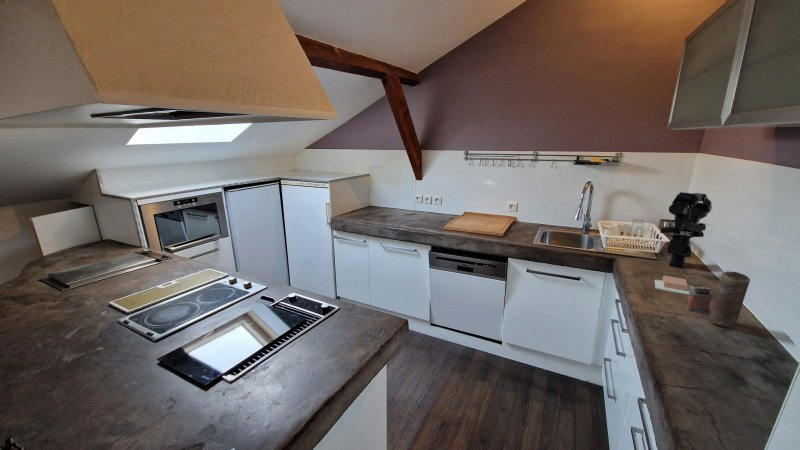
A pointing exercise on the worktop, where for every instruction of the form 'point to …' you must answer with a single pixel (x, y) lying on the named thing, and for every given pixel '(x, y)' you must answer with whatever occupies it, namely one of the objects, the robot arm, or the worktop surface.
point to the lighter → (699, 299)
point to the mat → (660, 286)
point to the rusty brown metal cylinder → (729, 299)
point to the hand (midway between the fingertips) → (681, 250)
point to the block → (675, 283)
